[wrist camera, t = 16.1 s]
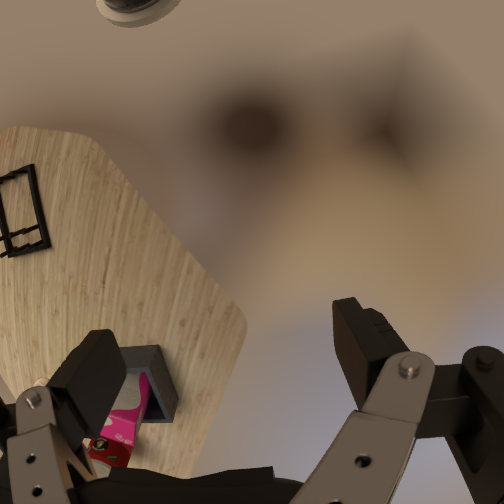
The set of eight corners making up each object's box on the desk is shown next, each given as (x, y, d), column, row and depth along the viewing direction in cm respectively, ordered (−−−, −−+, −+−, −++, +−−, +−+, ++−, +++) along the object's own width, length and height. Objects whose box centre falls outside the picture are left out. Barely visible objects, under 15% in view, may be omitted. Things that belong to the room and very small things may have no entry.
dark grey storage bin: (96, 348, 43) (82, 369, 38) (158, 344, 43) (148, 367, 37) (120, 399, 46) (110, 421, 41) (178, 398, 46) (172, 423, 40)
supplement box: (117, 384, 44) (93, 433, 33) (119, 356, 43) (91, 407, 32) (152, 395, 45) (133, 448, 34) (156, 368, 43) (135, 422, 32)
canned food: (130, 420, 48) (113, 466, 37) (140, 447, 50) (127, 490, 39) (93, 415, 47) (72, 456, 37) (105, 441, 50) (89, 481, 39)
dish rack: (-5, 180, 35) (-21, 184, 31) (33, 163, 35) (16, 165, 31) (12, 255, 39) (-3, 263, 35) (51, 246, 38) (36, 254, 34)
